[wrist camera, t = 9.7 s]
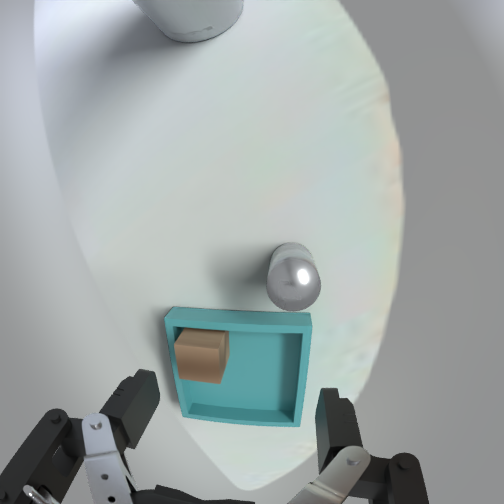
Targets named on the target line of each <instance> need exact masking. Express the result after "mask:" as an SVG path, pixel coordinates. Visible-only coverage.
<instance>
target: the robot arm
mask: <svg viewBox="0 0 504 504" xmlns="http://www.w3.org/2000/svg"><path fill="white" fill-rule="evenodd" d="M132 1H133V2H134V3H135V4H136V5H137V6H138V7H139V8H140V9H141V10H142V11H143V12H144V13H145V14H146V15H147V16H148V17H149V18H150V19H151V20H152V21H153V22H154V23H155V24H156V25H157V27H158V28H159V29H160V30H161V31H162V32H163V33H164V34H165V35H166V36H167V37H169V38H171V39H173V40H176V41H179V42H198V41H202V40H207V39H209V38H212V37H215V36H217V35H219V34H221V33H222V32H224V31H226V30H227V29H228V28H230V27H231V26H232V25H233V24H234V23H235V22H236V21H237V19H238V18H239V16H240V14H241V12H242V9H243V0H132ZM159 401H160V392H159V388H158V383H157V379H156V374H155V372H153V371H149V370H144V369H139V370H138V371H137V372H136V374H135V375H134V377H131V376H129V377H128V378H126V379H124V380H123V381H122V382H121V383H120V384H119V386H118V387H117V389H116V390H115V391H114V392H113V395H111V397H110V398H109V399H108V401H107V402H106V403H105V405H104V406H103V408H102V409H101V410H100V412H99V413H92V414H89V415H87V416H86V417H85V418H84V419H77V418H69V417H68V415H67V413H66V412H65V411H64V410H61V409H52V410H49V411H48V412H47V413H46V414H45V415H44V417H43V418H42V419H41V420H40V421H39V423H38V424H37V425H36V427H35V428H34V429H33V430H32V432H31V433H30V435H29V436H28V437H27V439H26V440H25V441H24V443H23V444H22V445H21V447H20V448H19V449H18V451H17V452H16V453H15V455H14V456H13V458H12V459H11V460H10V462H9V463H8V465H7V466H6V468H5V469H4V470H3V472H2V474H1V475H0V504H61V502H62V500H63V498H64V496H65V495H66V493H67V491H68V489H69V487H70V485H71V483H72V481H73V480H74V477H75V476H76V474H77V472H78V470H79V468H80V467H81V465H82V463H83V461H84V463H85V469H86V473H87V477H88V482H89V486H90V490H91V494H92V498H93V501H94V504H255V502H250V501H240V500H231V499H226V500H201V499H198V498H196V497H193V496H191V495H189V494H187V493H184V492H182V491H180V490H176V489H172V488H168V487H164V486H161V485H156V487H155V490H154V489H153V490H152V489H150V490H140V491H139V489H138V487H137V485H136V483H135V480H134V478H133V475H132V472H131V469H130V467H129V464H128V461H127V458H126V455H125V452H124V451H125V449H126V447H129V448H132V449H135V448H136V446H137V444H138V442H139V440H140V438H141V436H142V434H143V433H144V431H145V429H146V427H147V425H148V423H149V421H150V419H151V417H152V415H153V414H154V412H155V410H156V408H157V406H158V404H159ZM315 423H316V436H317V450H318V466H319V476H318V477H317V478H316V479H315V480H314V481H313V482H312V483H311V482H310V483H308V484H307V485H306V486H305V487H304V488H303V489H302V490H301V491H300V492H299V493H298V494H297V495H296V496H295V497H294V498H293V499H292V500H291V501H290V502H289V503H287V504H342V503H343V502H344V501H345V500H346V498H347V497H348V496H352V497H359V498H366V499H368V500H369V504H429V501H428V496H427V492H426V487H425V483H424V479H423V475H422V471H421V467H420V463H419V460H418V459H417V458H416V457H415V456H414V455H412V454H410V453H399V454H396V455H395V456H393V457H392V458H391V459H386V458H379V457H375V456H372V455H370V454H369V453H368V452H367V450H365V449H364V448H363V445H362V441H361V436H360V432H359V427H358V423H357V418H356V415H355V410H354V406H353V404H352V403H351V402H350V401H349V399H348V398H339V393H338V389H337V388H321V390H320V395H319V399H318V404H317V408H316V415H315ZM59 446H60V447H59ZM58 447H59V448H58ZM57 449H58V450H57ZM56 450H57V451H56ZM55 452H56V453H55ZM53 455H54V456H53ZM52 457H53V458H52Z"/></svg>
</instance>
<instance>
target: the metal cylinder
mask: <svg viewBox="0 0 504 504" xmlns="http://www.w3.org/2000/svg"><path fill="white" fill-rule="evenodd" d="M320 290H321V281H320V277H319V274H318V271H317V269H316V266H315V263H314V260H313V258H312V255H311V253H310V251H309V250H308V249H307V248H306V247H304V246H303V245H301V244H298V243H286V244H283V245H281V246H280V247H278V248H277V249H276V250H275V251H274V253H273V255H272V257H271V261H270V267H269V273H268V278H267V293H268V296H269V298H270V299H271V301H272V302H273V303H274V304H275V305H276V306H277V307H279V308H281V309H283V310H287V311H300V310H303V309H306V308H307V307H309V306H311V305H312V304H313V303H314V302H315V301H316V299H317V298H318V296H319V294H320Z"/></svg>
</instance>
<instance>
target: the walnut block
mask: <svg viewBox="0 0 504 504" xmlns="http://www.w3.org/2000/svg"><path fill="white" fill-rule="evenodd" d="M174 348H175V355H176V362H177V368H178V374H179V379H185V380H191V381H198V382H206V383H214V384H221V381H222V378H223V374H224V371H225V368H226V365H227V362H228V359H229V356H230V349H229V331H227V330H212V329H200V328H188V327H185V328H184V330H183V331H182V333H181V334H180V336H179V337H178V339H177V340H176V342H175V343H174Z"/></svg>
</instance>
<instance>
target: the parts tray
mask: <svg viewBox="0 0 504 504" xmlns="http://www.w3.org/2000/svg"><path fill="white" fill-rule="evenodd" d="M164 321H165V327H166V334H167V340H168V346H169V352H170V358H171V363H172V369H173V374H174V379H175V384H176V389H177V394H178V398H179V403H180V407H181V412H182V416H183V417H186V418H192V419H199V420H206V421H214V422H222V423H231V424H242V425H256V426H276V427H300V423H301V416H302V409H303V402H304V395H305V388H306V380H307V372H308V363H309V354H310V345H311V335H312V321H311V315H310V313H285V312H252V311H230V310H212V309H197V308H183V307H173V308H172V309H171V310H170V312H169V313H168V314H167V315H166V316H165V318H164ZM185 327H188V328H200V329H212V330H227V331H229V349H230V356H229V359H228V362H227V365H226V368H225V371H224V374H223V378H222V381H221V384H214V383H206V382H198V381H191V380H185V379H179V374H178V368H177V362H176V355H175V348H174V343H175V342H176V340H177V339H178V337H179V336H180V334H181V333H182V331H183V330H184V328H185Z"/></svg>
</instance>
